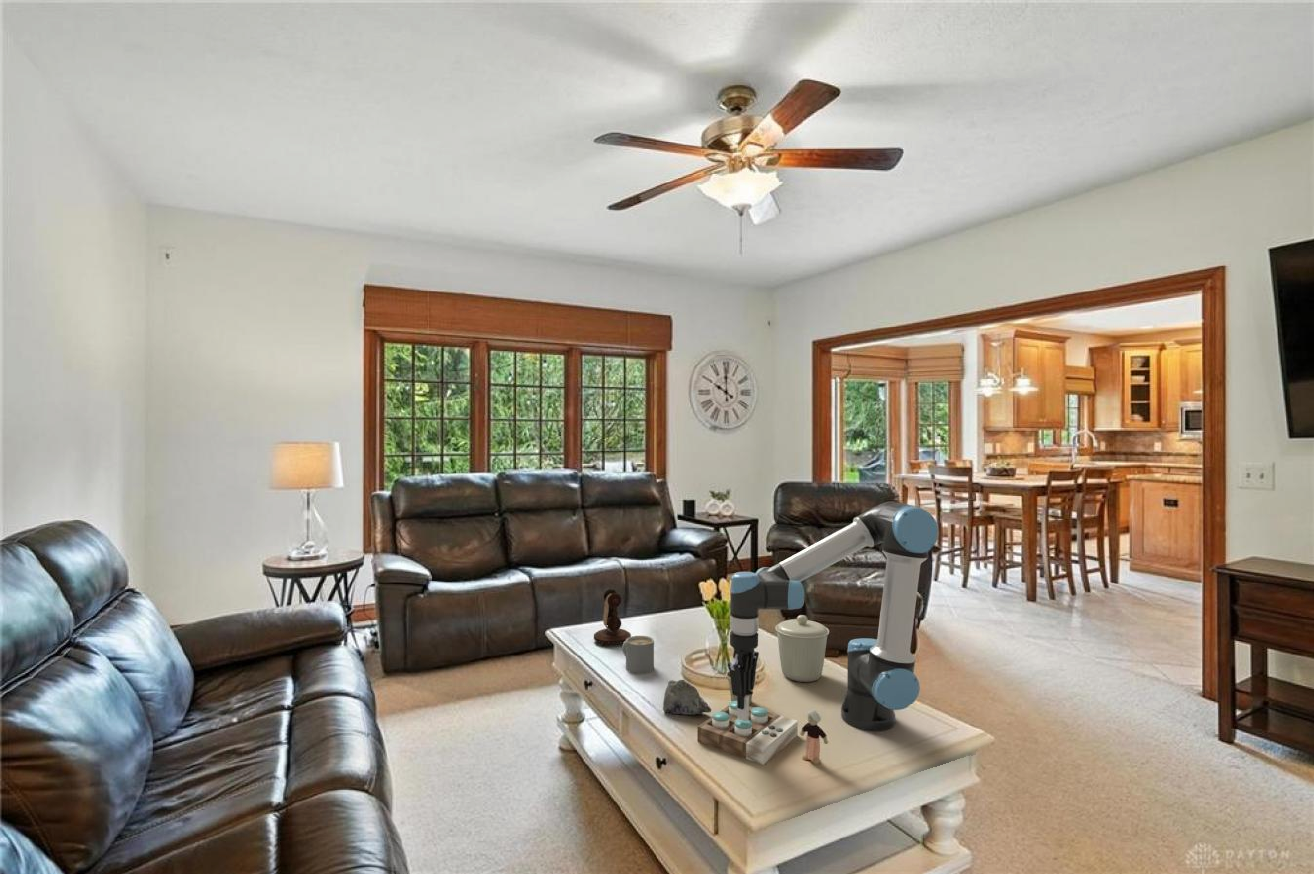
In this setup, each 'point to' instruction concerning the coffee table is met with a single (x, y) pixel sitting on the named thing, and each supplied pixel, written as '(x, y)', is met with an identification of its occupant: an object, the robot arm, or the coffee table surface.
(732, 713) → the button
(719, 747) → the button board
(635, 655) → the coffee mug
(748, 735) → the button
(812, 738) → the grandmother figurine
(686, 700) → the mineral rock
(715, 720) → the button
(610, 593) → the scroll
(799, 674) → the canister
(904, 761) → the coffee table surface
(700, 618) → the coffee table surface
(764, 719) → the button
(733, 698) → the flower pot
